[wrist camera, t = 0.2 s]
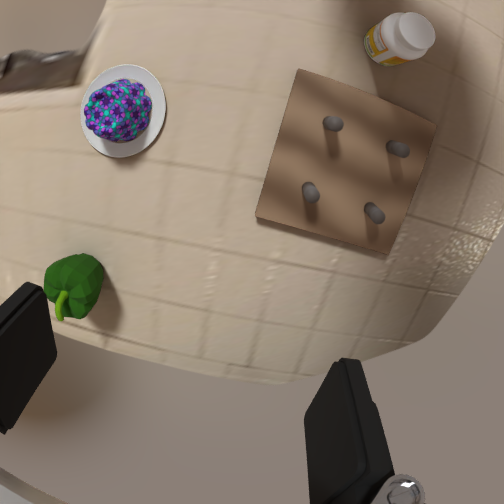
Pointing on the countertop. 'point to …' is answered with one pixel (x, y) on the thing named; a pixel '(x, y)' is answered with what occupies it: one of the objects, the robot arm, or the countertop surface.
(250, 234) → the countertop surface
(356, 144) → the peg cradle
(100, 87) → the pudding
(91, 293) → the bell pepper
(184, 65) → the countertop surface
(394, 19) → the supplement bottle
